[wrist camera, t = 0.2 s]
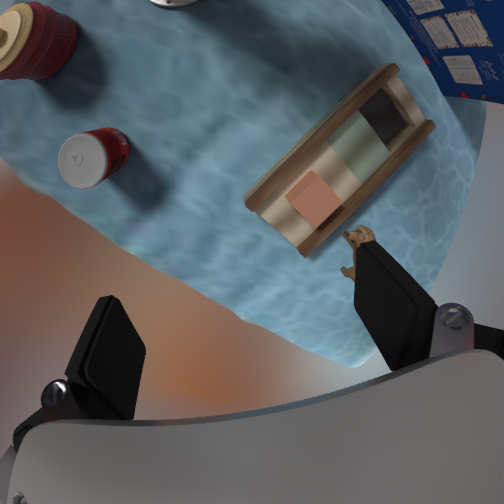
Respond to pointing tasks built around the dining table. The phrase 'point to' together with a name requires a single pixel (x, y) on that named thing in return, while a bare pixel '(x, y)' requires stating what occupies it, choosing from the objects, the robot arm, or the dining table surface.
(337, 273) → the dining table surface
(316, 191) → the block
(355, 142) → the channel board
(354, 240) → the lion figurine
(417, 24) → the pasta box
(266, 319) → the dining table surface
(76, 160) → the canned food
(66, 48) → the canister
